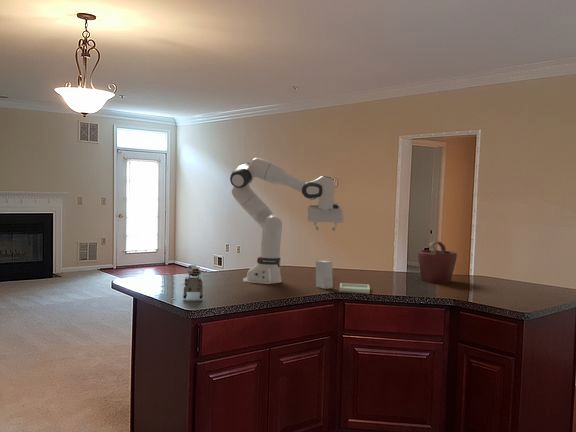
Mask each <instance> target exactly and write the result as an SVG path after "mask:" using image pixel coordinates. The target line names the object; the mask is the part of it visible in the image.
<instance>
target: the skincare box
mask: <svg viewBox="0 0 576 432" xmlns="http://www.w3.org/2000/svg"><path fill="white" fill-rule="evenodd" d="M315 287H316V288H320V289H324V290H326V289H333V261H331V260H315Z"/></svg>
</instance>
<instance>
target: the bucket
mask: <svg viewBox="0 0 576 432" xmlns="http://www.w3.org/2000/svg"><path fill="white" fill-rule="evenodd" d="M436 244H438V246H439V248H440V249H439V250H437V249H436V247H435V245H436ZM428 246H429V248H430V249H421V250H419V251H418V254H417V256H418V264H419V270H420V278H421V281H422V282H425V283H429V284H440V285H441V284H442V285H444V284H450V283H451V281H452V277H453V272H454V270H455V265H456V261H457V259H458V258H457V257H458V255H457V254H458V253H457V252H453V251H448V250H447V249H446V246H445V244H444V243H443V242H442V241H436V240H434V241H431V242H430V243H429V244H428Z"/></svg>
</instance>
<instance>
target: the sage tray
mask: <svg viewBox="0 0 576 432" xmlns="http://www.w3.org/2000/svg"><path fill="white" fill-rule="evenodd" d="M338 290H339V293H349V294H350V293H351V294H352V293H354V294H368V295H369V294H371V288H370V284H368V283H367V284H365V283H347V282H346V283H345V282H340V283H339V289H338Z"/></svg>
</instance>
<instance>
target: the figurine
mask: <svg viewBox="0 0 576 432" xmlns="http://www.w3.org/2000/svg"><path fill="white" fill-rule="evenodd" d="M186 271H187V273H188V276H186V277H185V278H184V287H183V295H182V298H183V299H187V295H188V294H187V293H199V299H203V297H204V294H203V288H204V287H203V286H204V285H203V280H202V278H200V275H201V274H202V271H201V269H200V266H197V265H194V264H190V265H188V267H187V268H186Z"/></svg>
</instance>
